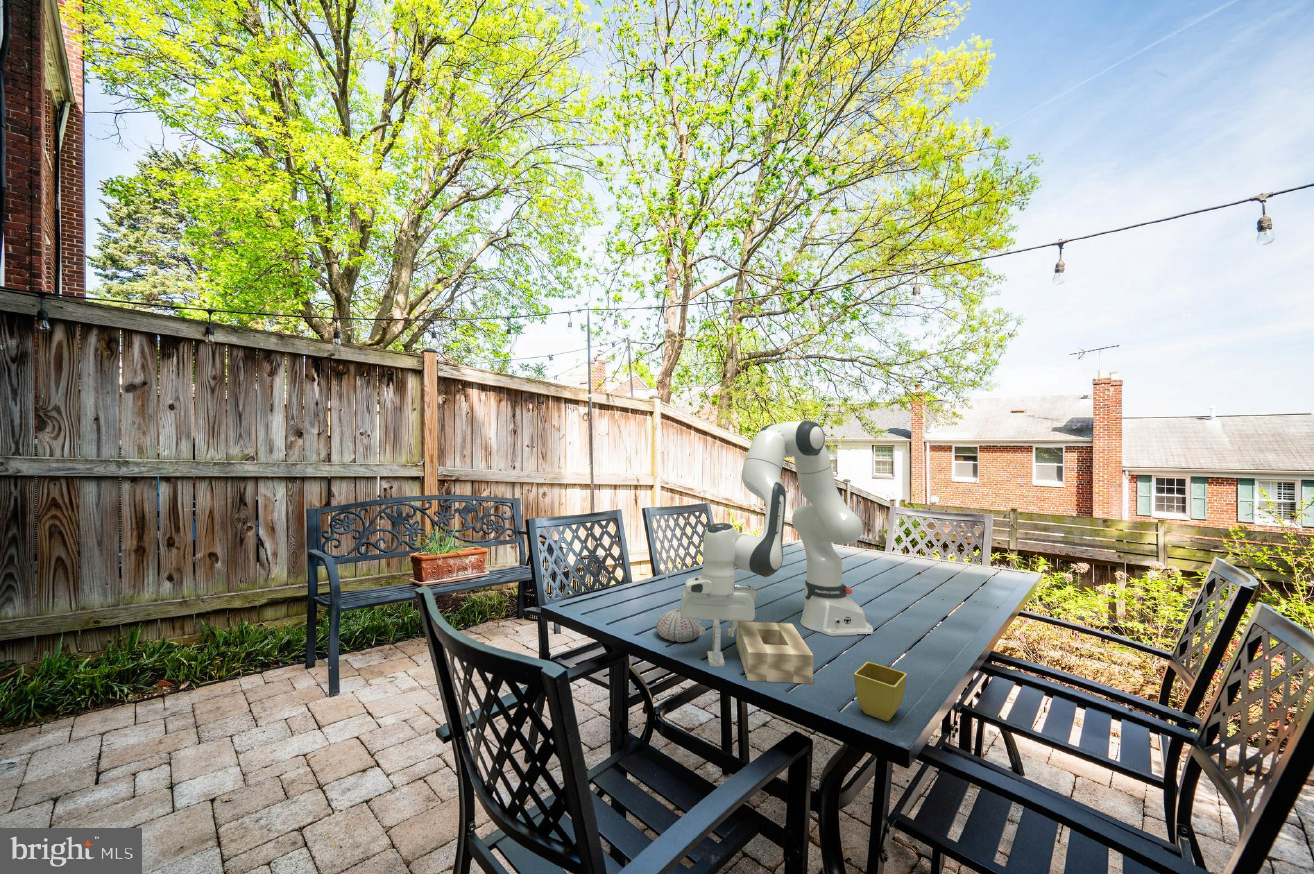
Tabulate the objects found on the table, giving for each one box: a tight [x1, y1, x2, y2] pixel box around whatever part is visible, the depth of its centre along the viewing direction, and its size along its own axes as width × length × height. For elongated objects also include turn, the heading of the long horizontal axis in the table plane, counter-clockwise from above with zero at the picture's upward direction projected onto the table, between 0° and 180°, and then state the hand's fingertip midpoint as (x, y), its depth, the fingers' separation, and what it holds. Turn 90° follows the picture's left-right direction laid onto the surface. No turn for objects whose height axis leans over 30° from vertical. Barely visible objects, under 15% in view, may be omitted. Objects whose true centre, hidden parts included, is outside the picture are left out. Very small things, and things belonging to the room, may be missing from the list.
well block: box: [735, 621, 814, 685], centre depth 136 cm, size 16×22×7 cm
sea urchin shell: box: [655, 608, 700, 643], centre depth 153 cm, size 13×14×8 cm
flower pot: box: [853, 661, 908, 722], centre depth 111 cm, size 9×9×9 cm
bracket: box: [706, 620, 725, 667], centre depth 136 cm, size 4×7×10 cm, turn 178°
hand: (716, 635), depth 136 cm, fingers open, 6 cm apart
